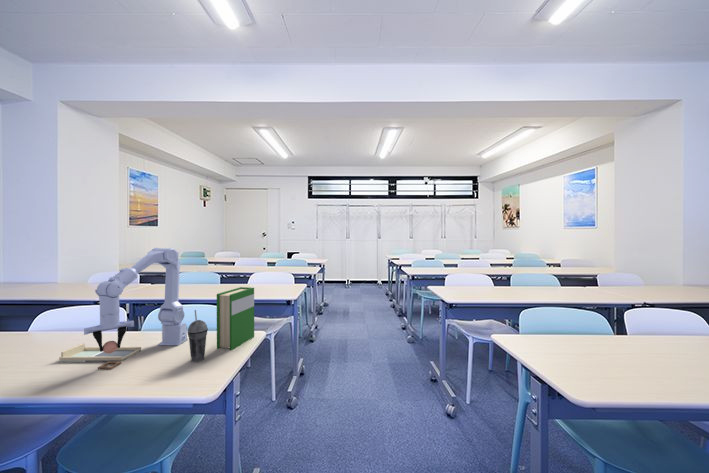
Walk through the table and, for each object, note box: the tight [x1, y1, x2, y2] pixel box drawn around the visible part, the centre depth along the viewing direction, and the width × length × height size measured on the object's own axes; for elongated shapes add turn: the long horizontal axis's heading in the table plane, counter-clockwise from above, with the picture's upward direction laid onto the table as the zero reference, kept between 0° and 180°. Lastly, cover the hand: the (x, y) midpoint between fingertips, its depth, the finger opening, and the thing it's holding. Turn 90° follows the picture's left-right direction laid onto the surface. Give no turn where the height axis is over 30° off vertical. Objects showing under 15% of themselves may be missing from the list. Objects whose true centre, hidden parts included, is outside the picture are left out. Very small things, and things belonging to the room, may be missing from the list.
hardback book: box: [216, 286, 255, 351], centre depth 138 cm, size 18×7×24 cm, turn 167°
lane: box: [58, 343, 142, 363], centre depth 122 cm, size 24×11×4 cm, turn 90°
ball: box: [102, 340, 118, 353], centre depth 113 cm, size 4×4×4 cm
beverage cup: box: [187, 309, 209, 363], centre depth 119 cm, size 7×7×20 cm
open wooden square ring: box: [97, 361, 123, 370], centre depth 113 cm, size 5×5×1 cm
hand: (110, 348), depth 113 cm, fingers closed on ball, 4 cm apart
